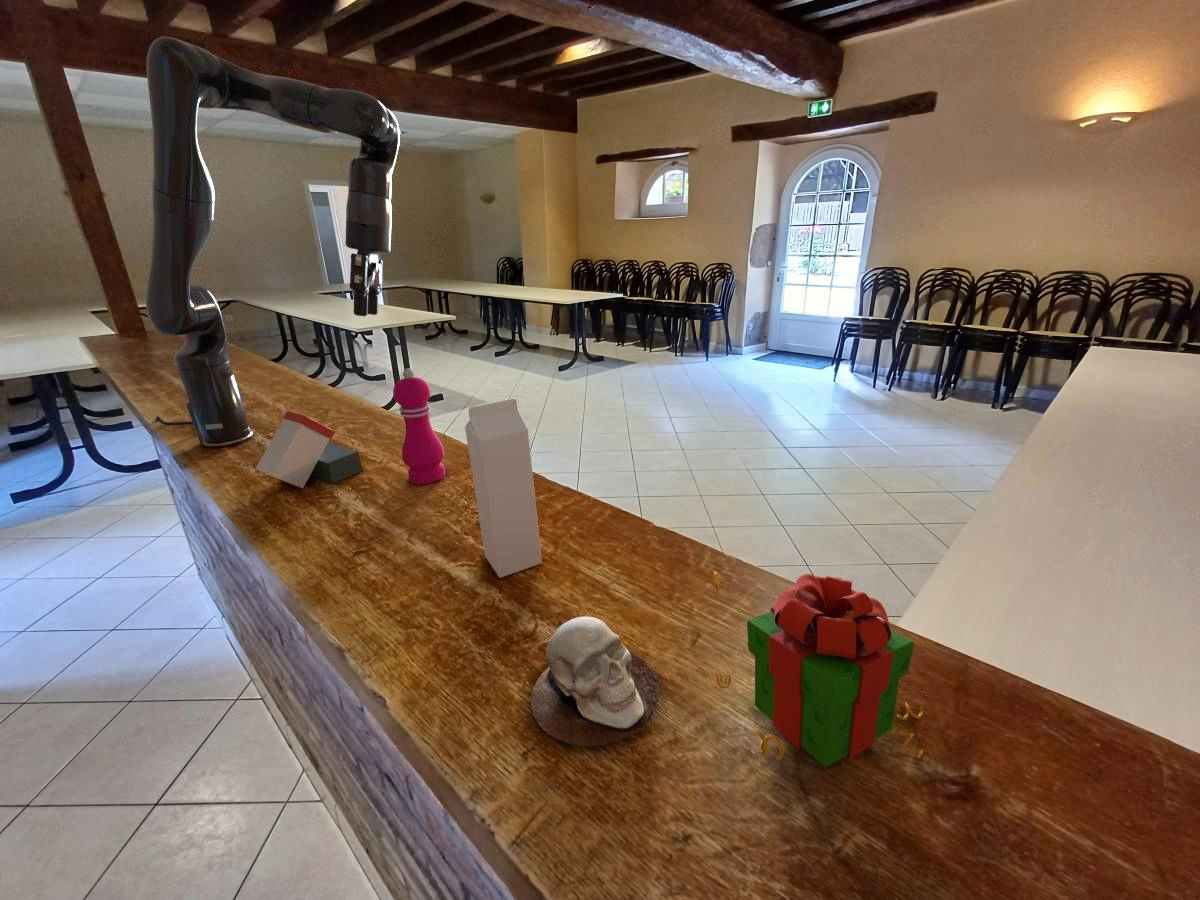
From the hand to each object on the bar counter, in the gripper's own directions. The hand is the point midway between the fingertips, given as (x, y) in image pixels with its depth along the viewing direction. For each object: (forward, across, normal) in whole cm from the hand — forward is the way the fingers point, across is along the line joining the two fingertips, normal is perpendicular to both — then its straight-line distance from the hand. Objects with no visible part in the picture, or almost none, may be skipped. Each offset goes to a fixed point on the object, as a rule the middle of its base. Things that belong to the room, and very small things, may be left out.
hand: (366, 315), depth 103 cm
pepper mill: (+27, +13, +14) cm, 33 cm away
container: (+30, +9, -8) cm, 33 cm away
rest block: (+29, +5, -4) cm, 30 cm away
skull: (+29, +69, +36) cm, 83 cm away
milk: (+27, +44, +29) cm, 59 cm away
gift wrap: (+26, +76, +53) cm, 96 cm away
